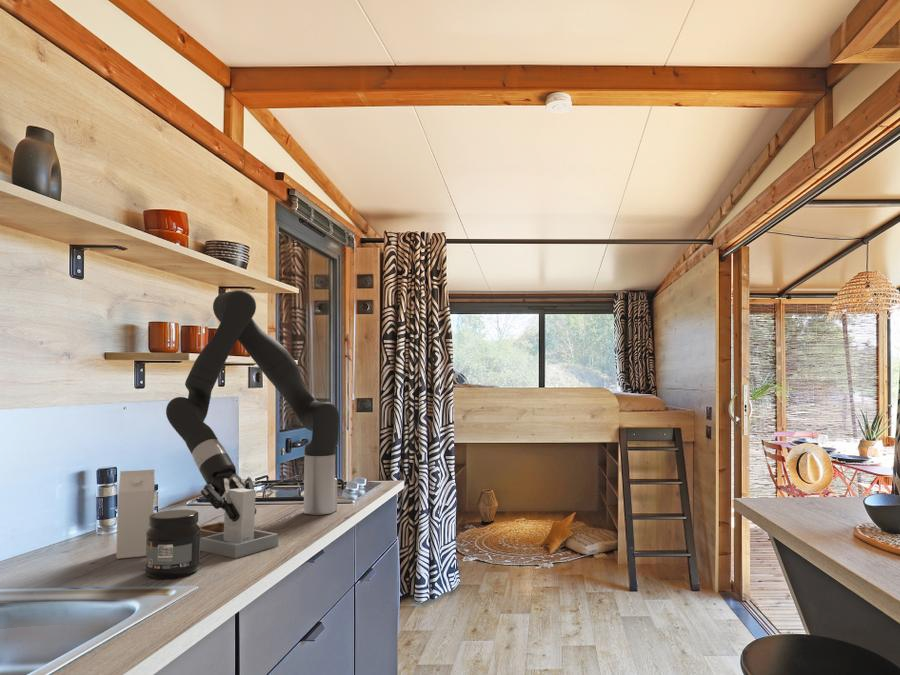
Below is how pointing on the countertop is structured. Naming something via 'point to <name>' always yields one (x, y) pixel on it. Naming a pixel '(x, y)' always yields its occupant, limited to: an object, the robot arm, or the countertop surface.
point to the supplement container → (172, 544)
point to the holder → (211, 529)
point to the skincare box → (241, 516)
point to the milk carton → (134, 512)
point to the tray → (238, 544)
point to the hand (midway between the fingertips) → (245, 517)
